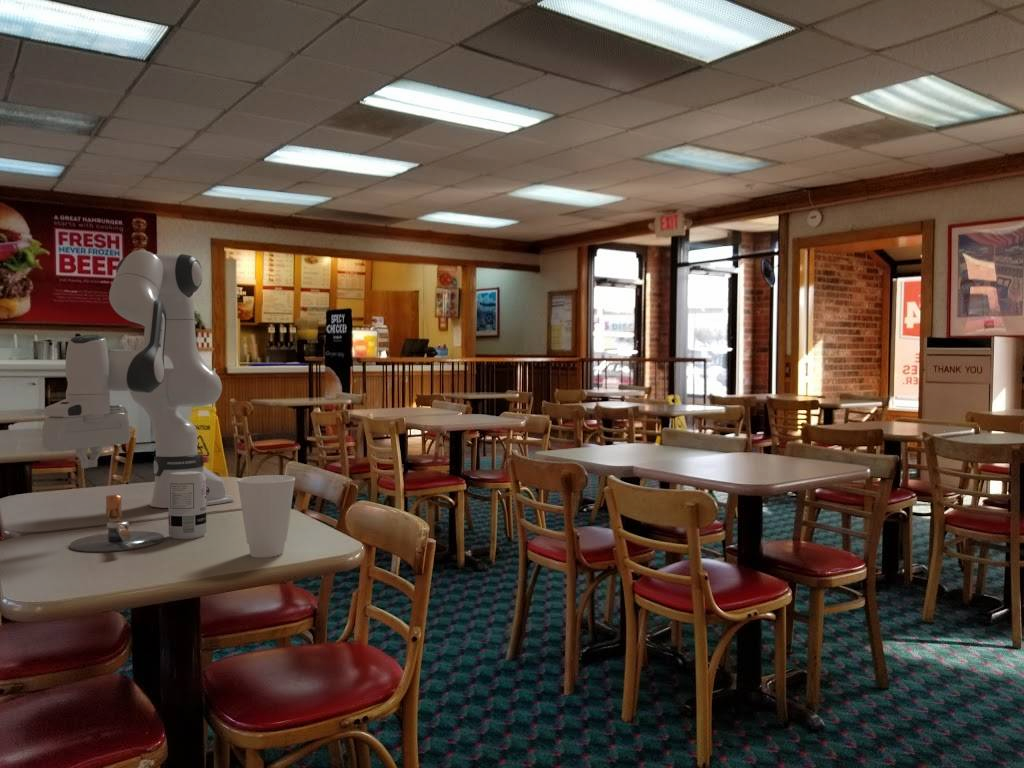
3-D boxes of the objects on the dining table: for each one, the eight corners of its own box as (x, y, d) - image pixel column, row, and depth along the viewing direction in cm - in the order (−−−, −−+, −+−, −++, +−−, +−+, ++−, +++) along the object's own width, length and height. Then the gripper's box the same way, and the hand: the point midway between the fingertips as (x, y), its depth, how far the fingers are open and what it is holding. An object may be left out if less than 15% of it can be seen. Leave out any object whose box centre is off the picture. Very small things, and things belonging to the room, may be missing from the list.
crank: (137, 539, 171) (137, 510, 171) (114, 541, 169) (114, 512, 169) (123, 520, 192) (123, 494, 192) (102, 521, 190) (102, 495, 189)
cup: (240, 562, 164) (239, 484, 164) (235, 550, 175) (234, 476, 175) (300, 557, 169) (299, 480, 169) (291, 545, 180) (291, 473, 180)
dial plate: (149, 530, 196) (148, 518, 196) (175, 543, 182) (175, 530, 182) (61, 541, 184) (61, 528, 184) (82, 556, 169) (82, 542, 169)
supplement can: (162, 536, 189) (161, 472, 189) (196, 531, 195) (196, 469, 195) (178, 541, 184) (177, 475, 183) (212, 536, 190) (212, 472, 189)
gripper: (117, 404, 194) (118, 461, 195) (37, 408, 176) (38, 472, 176) (136, 404, 192) (137, 462, 192) (56, 409, 173) (58, 474, 173)
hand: (89, 467), depth 184 cm, fingers closed
